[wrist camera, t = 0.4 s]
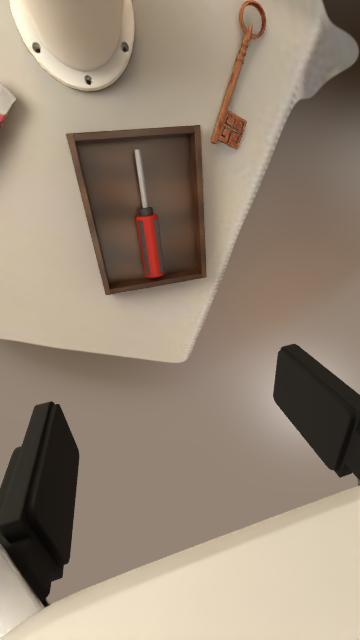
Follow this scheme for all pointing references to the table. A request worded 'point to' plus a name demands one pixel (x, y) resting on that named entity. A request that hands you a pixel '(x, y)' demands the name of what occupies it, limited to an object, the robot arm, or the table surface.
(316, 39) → the table surface
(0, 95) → the paintbrush
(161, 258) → the screwdriver
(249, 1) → the key
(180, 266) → the wooden tray
